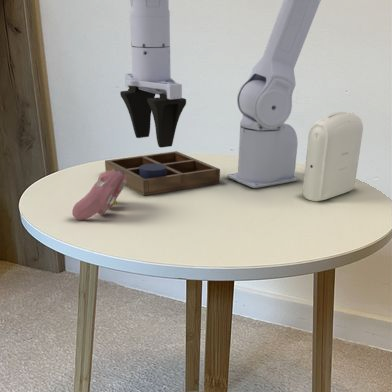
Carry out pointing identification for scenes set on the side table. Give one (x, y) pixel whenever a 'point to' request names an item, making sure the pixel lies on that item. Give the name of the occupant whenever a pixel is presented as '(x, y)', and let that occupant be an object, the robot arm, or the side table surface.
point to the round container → (152, 170)
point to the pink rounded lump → (100, 195)
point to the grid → (175, 167)
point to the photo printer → (332, 156)
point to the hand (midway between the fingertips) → (153, 141)
